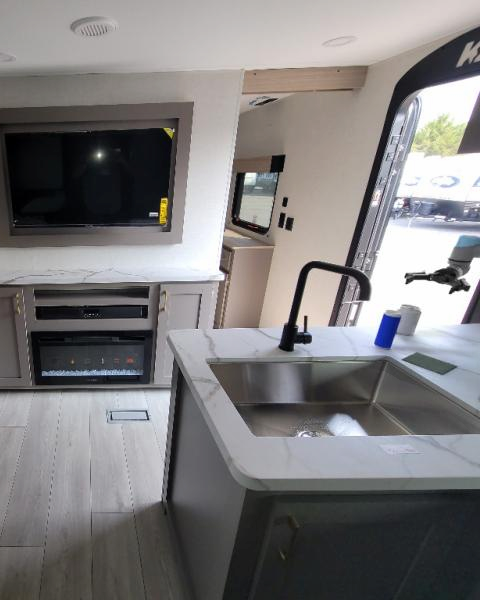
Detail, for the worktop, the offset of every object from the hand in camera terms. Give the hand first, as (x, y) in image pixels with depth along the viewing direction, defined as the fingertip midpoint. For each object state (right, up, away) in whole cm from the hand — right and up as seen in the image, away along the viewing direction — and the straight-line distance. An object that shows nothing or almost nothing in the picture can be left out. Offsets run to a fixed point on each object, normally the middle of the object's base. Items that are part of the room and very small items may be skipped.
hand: (428, 286), depth 137 cm
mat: (-20, -29, -18) cm, 39 cm away
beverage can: (-25, -25, -6) cm, 36 cm away
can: (-7, -20, +5) cm, 22 cm away
